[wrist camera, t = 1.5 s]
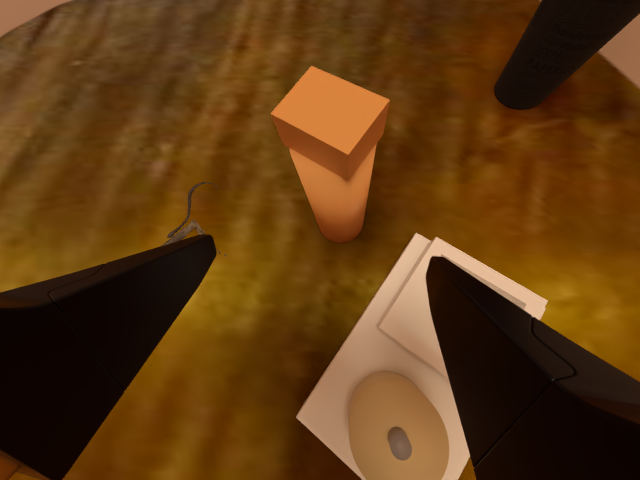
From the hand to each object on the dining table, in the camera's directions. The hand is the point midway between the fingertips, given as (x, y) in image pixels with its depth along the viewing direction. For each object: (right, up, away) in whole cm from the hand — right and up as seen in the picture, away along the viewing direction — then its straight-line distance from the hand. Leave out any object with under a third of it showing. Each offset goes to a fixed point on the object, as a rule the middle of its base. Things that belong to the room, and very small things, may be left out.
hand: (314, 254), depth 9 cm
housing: (+8, -9, +10) cm, 16 cm away
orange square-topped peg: (+2, +2, +14) cm, 14 cm away
